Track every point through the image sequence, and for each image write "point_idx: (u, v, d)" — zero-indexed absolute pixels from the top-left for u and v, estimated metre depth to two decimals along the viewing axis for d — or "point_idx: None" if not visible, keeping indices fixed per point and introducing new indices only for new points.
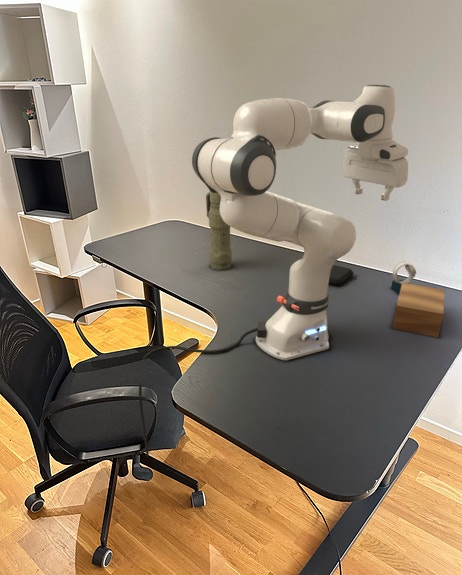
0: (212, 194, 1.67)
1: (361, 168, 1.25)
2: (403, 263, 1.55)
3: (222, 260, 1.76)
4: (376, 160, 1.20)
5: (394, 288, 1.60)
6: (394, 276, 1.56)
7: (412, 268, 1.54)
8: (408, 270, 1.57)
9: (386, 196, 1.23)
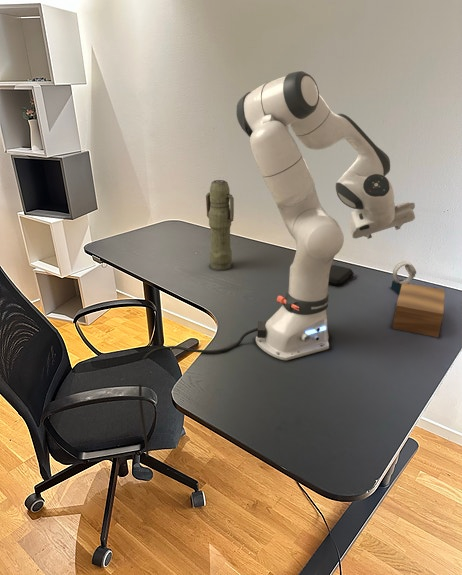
0: (212, 194, 1.67)
1: None
2: (403, 263, 1.55)
3: (222, 260, 1.76)
4: None
5: (394, 288, 1.60)
6: (394, 276, 1.56)
7: (412, 268, 1.54)
8: (408, 270, 1.57)
9: None
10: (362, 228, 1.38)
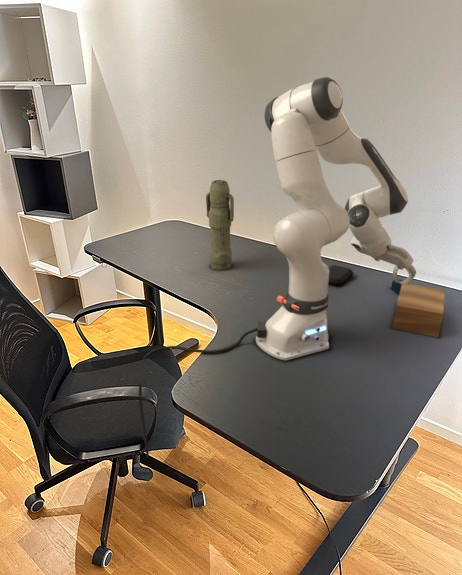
0: (212, 194, 1.67)
1: None
2: None
3: (222, 260, 1.76)
4: None
5: (394, 288, 1.60)
6: (394, 276, 1.56)
7: (412, 268, 1.54)
8: (408, 270, 1.57)
9: None
10: (355, 245, 1.46)
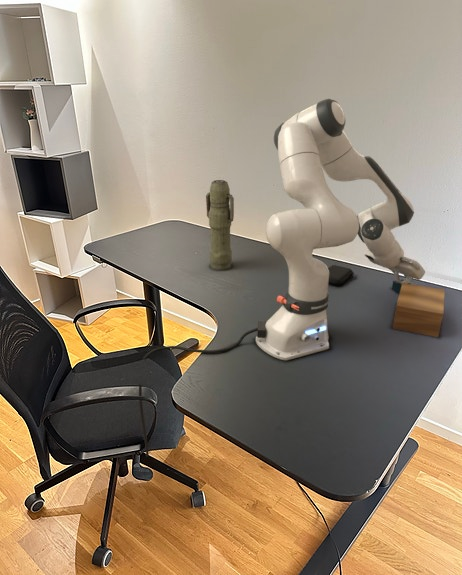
0: (212, 194, 1.67)
1: None
2: None
3: (222, 260, 1.76)
4: None
5: (395, 288, 1.59)
6: (395, 276, 1.56)
7: None
8: None
9: None
10: (368, 257, 1.52)
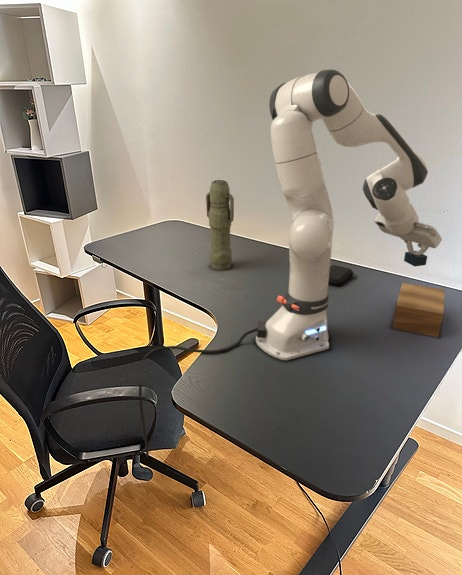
0: (212, 194, 1.67)
1: None
2: None
3: (222, 260, 1.76)
4: None
5: (408, 260, 1.46)
6: (408, 246, 1.43)
7: None
8: None
9: None
10: (379, 224, 1.39)
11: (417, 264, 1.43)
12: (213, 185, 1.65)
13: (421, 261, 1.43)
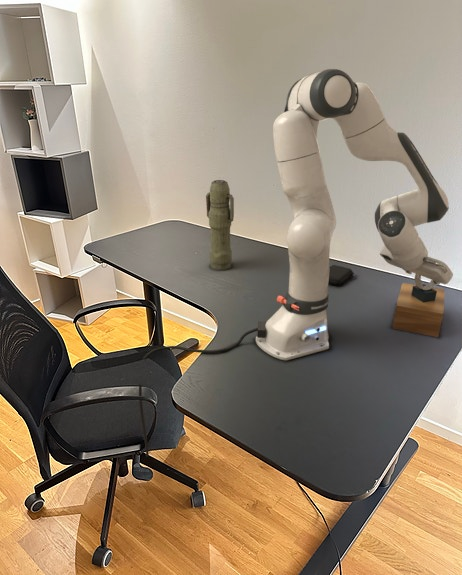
0: (212, 194, 1.67)
1: None
2: None
3: (222, 260, 1.76)
4: None
5: (416, 295, 1.37)
6: (417, 281, 1.33)
7: None
8: None
9: None
10: (385, 257, 1.29)
11: (426, 300, 1.34)
12: (213, 185, 1.65)
13: (430, 297, 1.34)
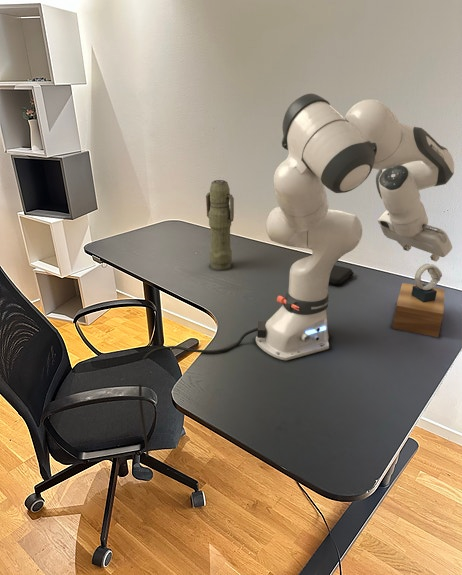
0: (212, 194, 1.67)
1: None
2: (427, 265, 1.32)
3: (222, 260, 1.76)
4: None
5: (416, 295, 1.37)
6: (417, 281, 1.33)
7: (438, 271, 1.32)
8: (432, 273, 1.35)
9: None
10: (382, 224, 1.22)
11: (426, 300, 1.34)
12: (213, 185, 1.65)
13: (430, 297, 1.34)
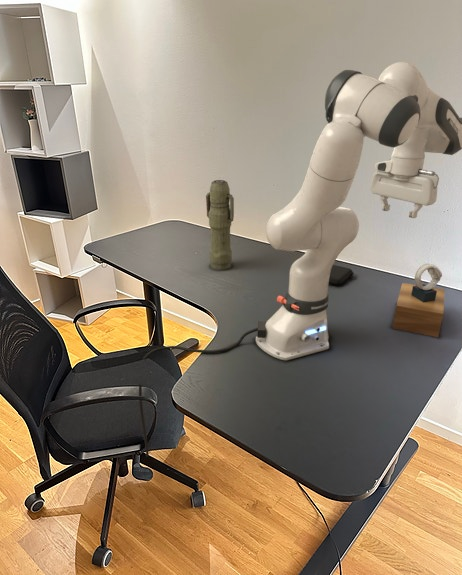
0: (212, 194, 1.67)
1: None
2: (427, 265, 1.32)
3: (222, 260, 1.76)
4: None
5: (416, 295, 1.37)
6: (417, 281, 1.33)
7: (438, 271, 1.32)
8: (432, 273, 1.35)
9: None
10: (380, 167, 1.29)
11: (426, 300, 1.34)
12: (213, 185, 1.65)
13: (430, 297, 1.34)
